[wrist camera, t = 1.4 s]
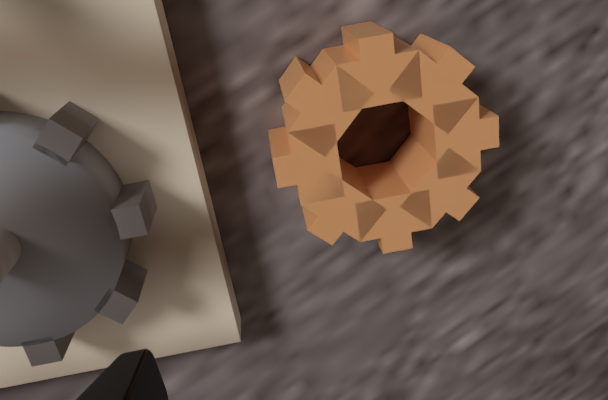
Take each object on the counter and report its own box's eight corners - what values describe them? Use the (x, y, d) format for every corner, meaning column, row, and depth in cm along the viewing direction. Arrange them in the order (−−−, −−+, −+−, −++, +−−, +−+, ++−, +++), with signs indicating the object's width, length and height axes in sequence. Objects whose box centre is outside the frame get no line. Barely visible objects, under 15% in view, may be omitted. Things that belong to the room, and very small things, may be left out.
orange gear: (467, 196, 22) (500, 231, 19) (287, 230, 21) (294, 271, 19) (459, 5, 19) (496, 14, 16) (251, 42, 19) (252, 58, 16)
